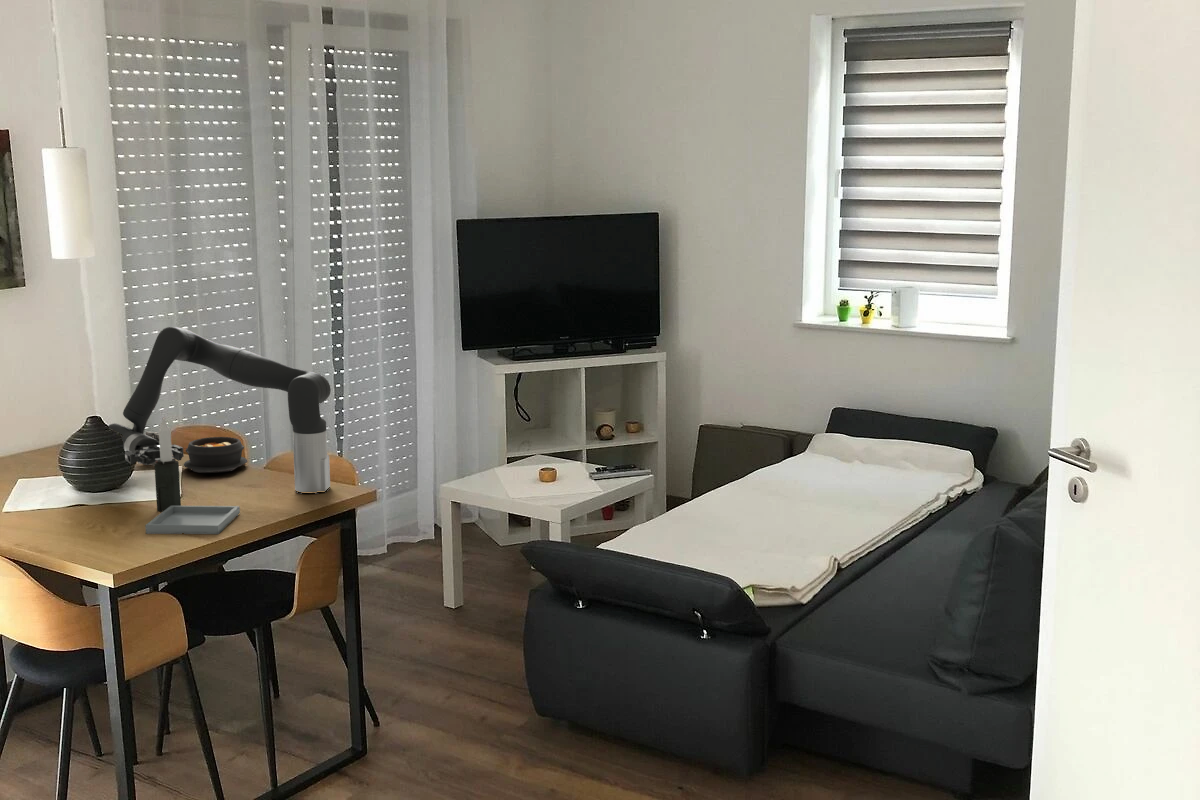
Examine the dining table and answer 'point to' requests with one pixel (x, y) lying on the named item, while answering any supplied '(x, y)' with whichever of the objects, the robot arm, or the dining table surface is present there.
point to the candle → (166, 472)
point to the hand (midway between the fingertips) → (164, 458)
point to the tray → (192, 520)
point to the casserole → (215, 455)
